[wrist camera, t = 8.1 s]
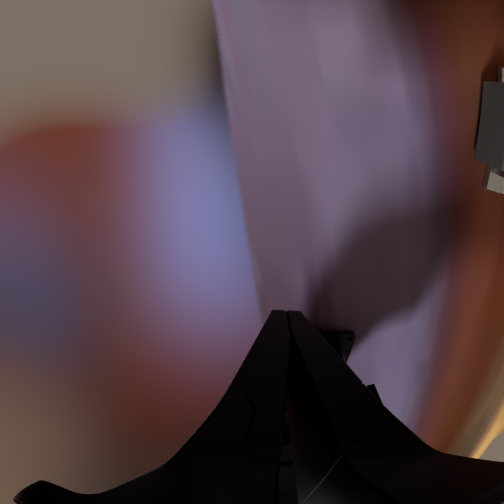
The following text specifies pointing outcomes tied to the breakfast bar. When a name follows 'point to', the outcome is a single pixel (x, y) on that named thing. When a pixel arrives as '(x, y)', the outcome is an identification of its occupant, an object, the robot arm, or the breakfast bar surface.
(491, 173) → the track
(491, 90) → the thick grey end plate
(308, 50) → the breakfast bar surface
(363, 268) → the breakfast bar surface
